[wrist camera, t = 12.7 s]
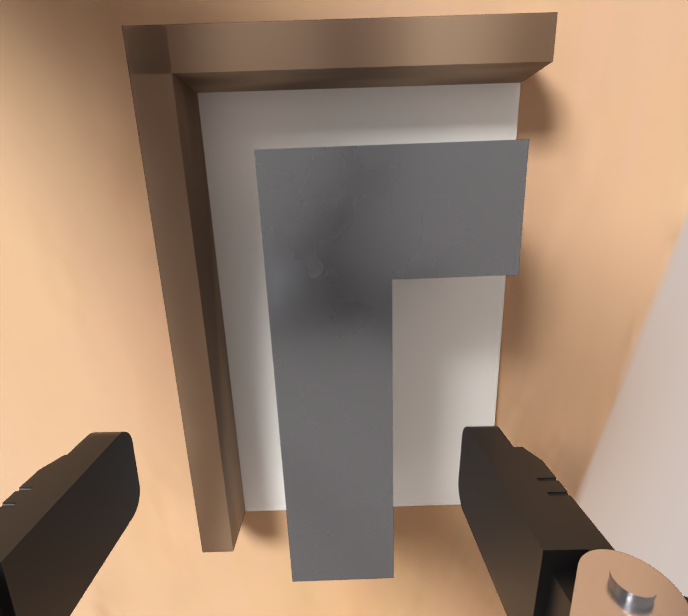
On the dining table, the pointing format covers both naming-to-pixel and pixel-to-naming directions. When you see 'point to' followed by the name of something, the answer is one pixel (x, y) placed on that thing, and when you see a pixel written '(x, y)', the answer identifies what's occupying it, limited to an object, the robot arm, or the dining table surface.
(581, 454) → the dining table surface
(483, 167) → the bracket
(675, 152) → the dining table surface
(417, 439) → the mat
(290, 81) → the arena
